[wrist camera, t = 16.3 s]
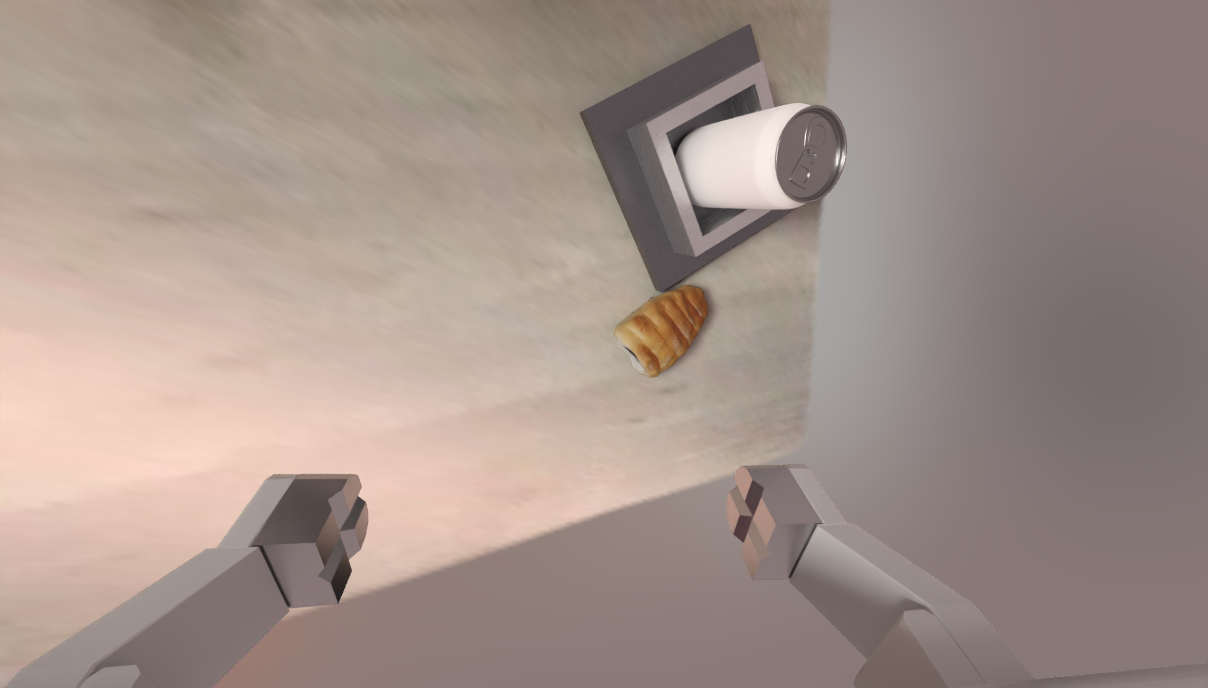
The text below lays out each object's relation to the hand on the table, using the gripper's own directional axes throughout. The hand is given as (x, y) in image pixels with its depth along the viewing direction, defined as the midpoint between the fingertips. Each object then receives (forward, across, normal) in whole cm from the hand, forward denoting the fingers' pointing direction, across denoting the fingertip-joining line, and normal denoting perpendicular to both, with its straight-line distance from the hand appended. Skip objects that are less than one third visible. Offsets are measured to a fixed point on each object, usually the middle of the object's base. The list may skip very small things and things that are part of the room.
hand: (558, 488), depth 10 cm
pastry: (+30, -10, +12) cm, 34 cm away
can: (+33, -13, -2) cm, 35 cm away
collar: (+33, -13, -2) cm, 36 cm away
